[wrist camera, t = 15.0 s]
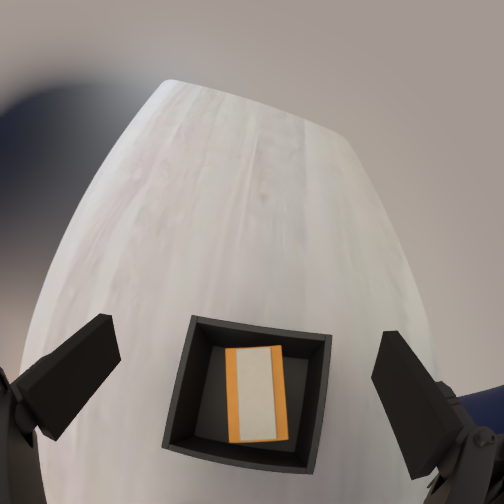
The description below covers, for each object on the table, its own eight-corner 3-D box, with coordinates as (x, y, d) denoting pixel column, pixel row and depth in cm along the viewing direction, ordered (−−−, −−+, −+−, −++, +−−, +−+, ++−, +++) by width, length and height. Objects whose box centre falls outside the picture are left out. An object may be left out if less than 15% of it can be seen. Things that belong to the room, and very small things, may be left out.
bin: (313, 356, 31) (332, 334, 22) (298, 456, 24) (313, 474, 16) (210, 341, 32) (191, 314, 24) (189, 438, 26) (161, 447, 17)
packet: (274, 368, 29) (282, 343, 19) (278, 428, 26) (289, 440, 15) (238, 370, 29) (223, 346, 19) (241, 430, 26) (227, 444, 15)
